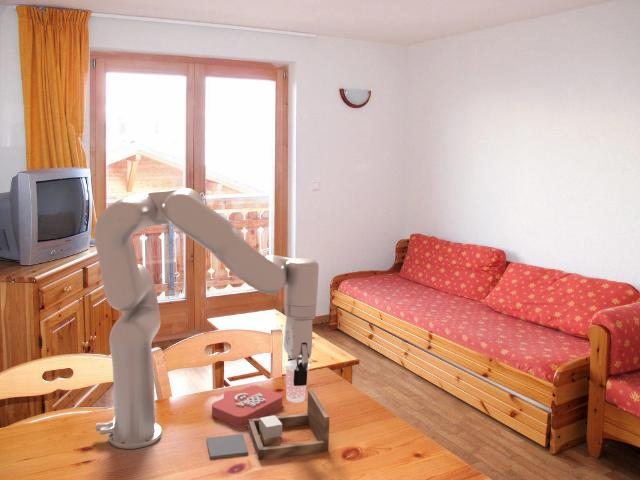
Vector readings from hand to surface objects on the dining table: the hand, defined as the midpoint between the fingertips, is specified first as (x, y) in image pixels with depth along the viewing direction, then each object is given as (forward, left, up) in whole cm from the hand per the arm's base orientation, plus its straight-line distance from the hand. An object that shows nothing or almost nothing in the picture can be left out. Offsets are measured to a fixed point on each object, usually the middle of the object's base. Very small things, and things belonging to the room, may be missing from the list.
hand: (296, 378), depth 150 cm
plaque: (-10, +19, -16) cm, 27 cm away
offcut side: (-6, +5, -16) cm, 18 cm away
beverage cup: (0, 0, -5) cm, 5 cm away
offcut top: (-7, -1, -13) cm, 15 cm away
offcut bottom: (-7, -1, -16) cm, 17 cm away
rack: (-2, 0, -16) cm, 16 cm away
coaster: (-17, -1, -16) cm, 23 cm away
